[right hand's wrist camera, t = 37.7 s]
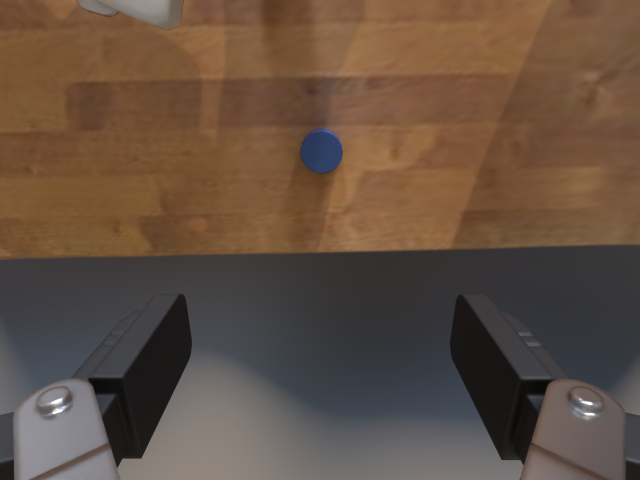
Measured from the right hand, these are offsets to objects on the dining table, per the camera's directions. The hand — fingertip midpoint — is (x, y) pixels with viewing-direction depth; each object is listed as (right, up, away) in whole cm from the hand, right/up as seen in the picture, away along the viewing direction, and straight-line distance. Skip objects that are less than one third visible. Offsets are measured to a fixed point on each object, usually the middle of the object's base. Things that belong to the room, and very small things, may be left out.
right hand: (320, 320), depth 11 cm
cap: (0, +12, +30) cm, 33 cm away
